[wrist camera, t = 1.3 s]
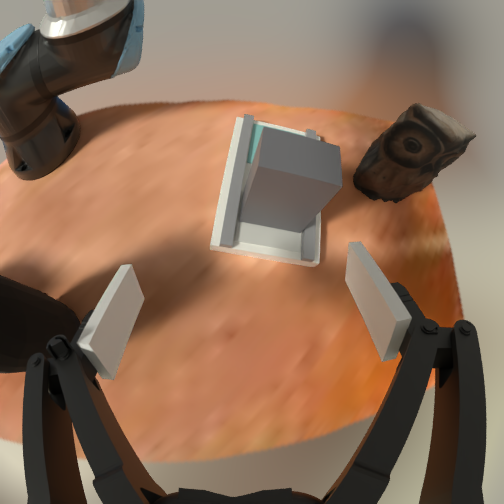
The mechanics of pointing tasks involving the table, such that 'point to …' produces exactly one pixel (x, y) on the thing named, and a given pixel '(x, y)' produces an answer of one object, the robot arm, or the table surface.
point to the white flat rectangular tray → (230, 201)
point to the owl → (411, 154)
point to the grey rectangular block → (290, 180)
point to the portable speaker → (29, 324)
